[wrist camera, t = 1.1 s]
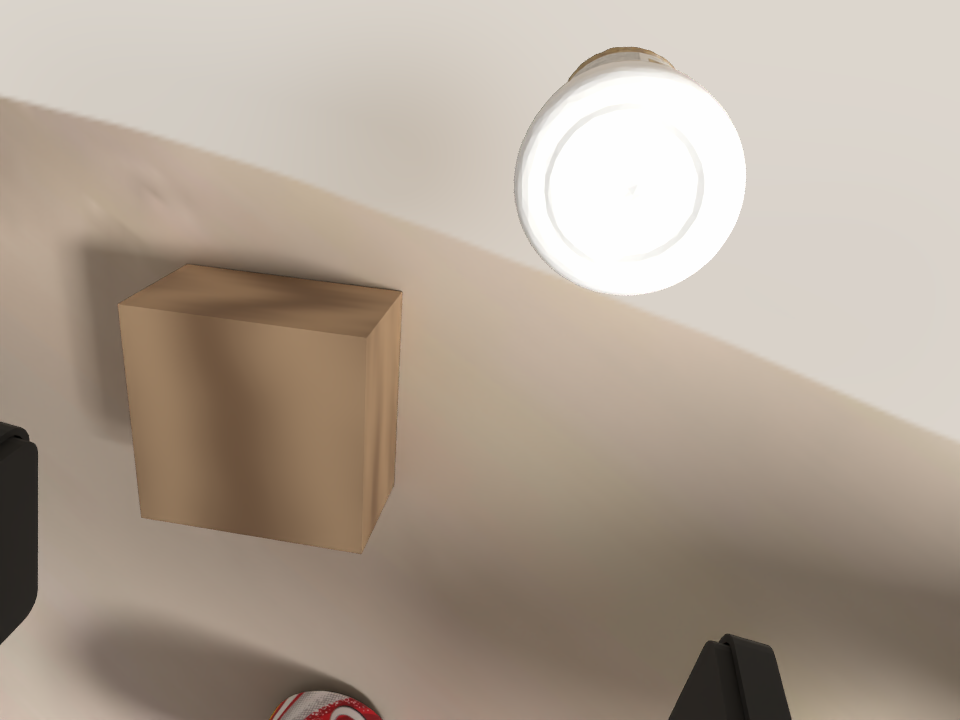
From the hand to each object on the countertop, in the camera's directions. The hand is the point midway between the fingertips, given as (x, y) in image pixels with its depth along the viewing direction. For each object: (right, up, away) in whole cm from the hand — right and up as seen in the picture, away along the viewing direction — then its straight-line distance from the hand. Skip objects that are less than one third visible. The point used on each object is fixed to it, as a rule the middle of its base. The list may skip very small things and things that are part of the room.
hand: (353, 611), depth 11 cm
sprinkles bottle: (+7, +12, +17) cm, 22 cm away
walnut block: (-6, +3, +23) cm, 24 cm away
